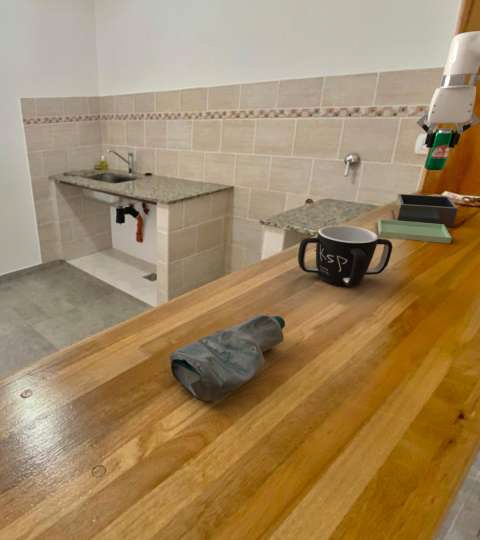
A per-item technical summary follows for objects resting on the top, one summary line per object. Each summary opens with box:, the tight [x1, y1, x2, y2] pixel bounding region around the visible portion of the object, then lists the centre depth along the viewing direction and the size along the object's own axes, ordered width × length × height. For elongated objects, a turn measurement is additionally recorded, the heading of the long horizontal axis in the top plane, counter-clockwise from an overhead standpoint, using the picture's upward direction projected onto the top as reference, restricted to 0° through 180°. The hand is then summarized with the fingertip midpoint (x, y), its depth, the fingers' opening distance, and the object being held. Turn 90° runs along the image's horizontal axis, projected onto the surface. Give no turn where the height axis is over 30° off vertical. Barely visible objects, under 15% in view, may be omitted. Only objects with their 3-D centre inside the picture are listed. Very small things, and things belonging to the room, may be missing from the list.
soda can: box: [424, 127, 455, 171], centre depth 118 cm, size 5×5×12 cm
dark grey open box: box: [393, 193, 459, 229], centre depth 129 cm, size 15×16×6 cm
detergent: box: [169, 313, 286, 401], centre depth 65 cm, size 13×7×25 cm
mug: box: [297, 225, 394, 288], centre depth 91 cm, size 16×16×12 cm
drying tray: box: [377, 218, 452, 244], centre depth 118 cm, size 17×13×2 cm
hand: (439, 146), depth 117 cm, fingers closed on soda can, 5 cm apart
